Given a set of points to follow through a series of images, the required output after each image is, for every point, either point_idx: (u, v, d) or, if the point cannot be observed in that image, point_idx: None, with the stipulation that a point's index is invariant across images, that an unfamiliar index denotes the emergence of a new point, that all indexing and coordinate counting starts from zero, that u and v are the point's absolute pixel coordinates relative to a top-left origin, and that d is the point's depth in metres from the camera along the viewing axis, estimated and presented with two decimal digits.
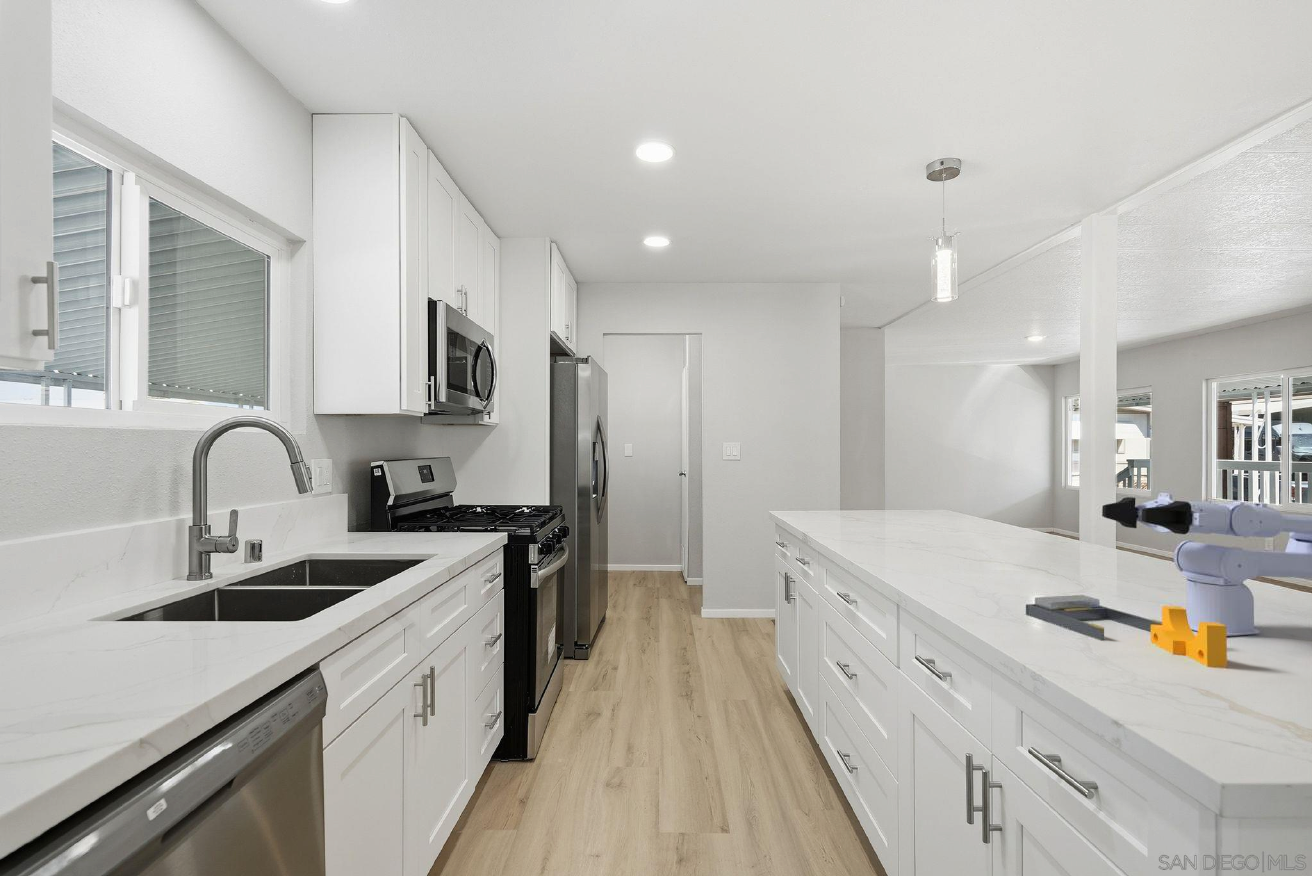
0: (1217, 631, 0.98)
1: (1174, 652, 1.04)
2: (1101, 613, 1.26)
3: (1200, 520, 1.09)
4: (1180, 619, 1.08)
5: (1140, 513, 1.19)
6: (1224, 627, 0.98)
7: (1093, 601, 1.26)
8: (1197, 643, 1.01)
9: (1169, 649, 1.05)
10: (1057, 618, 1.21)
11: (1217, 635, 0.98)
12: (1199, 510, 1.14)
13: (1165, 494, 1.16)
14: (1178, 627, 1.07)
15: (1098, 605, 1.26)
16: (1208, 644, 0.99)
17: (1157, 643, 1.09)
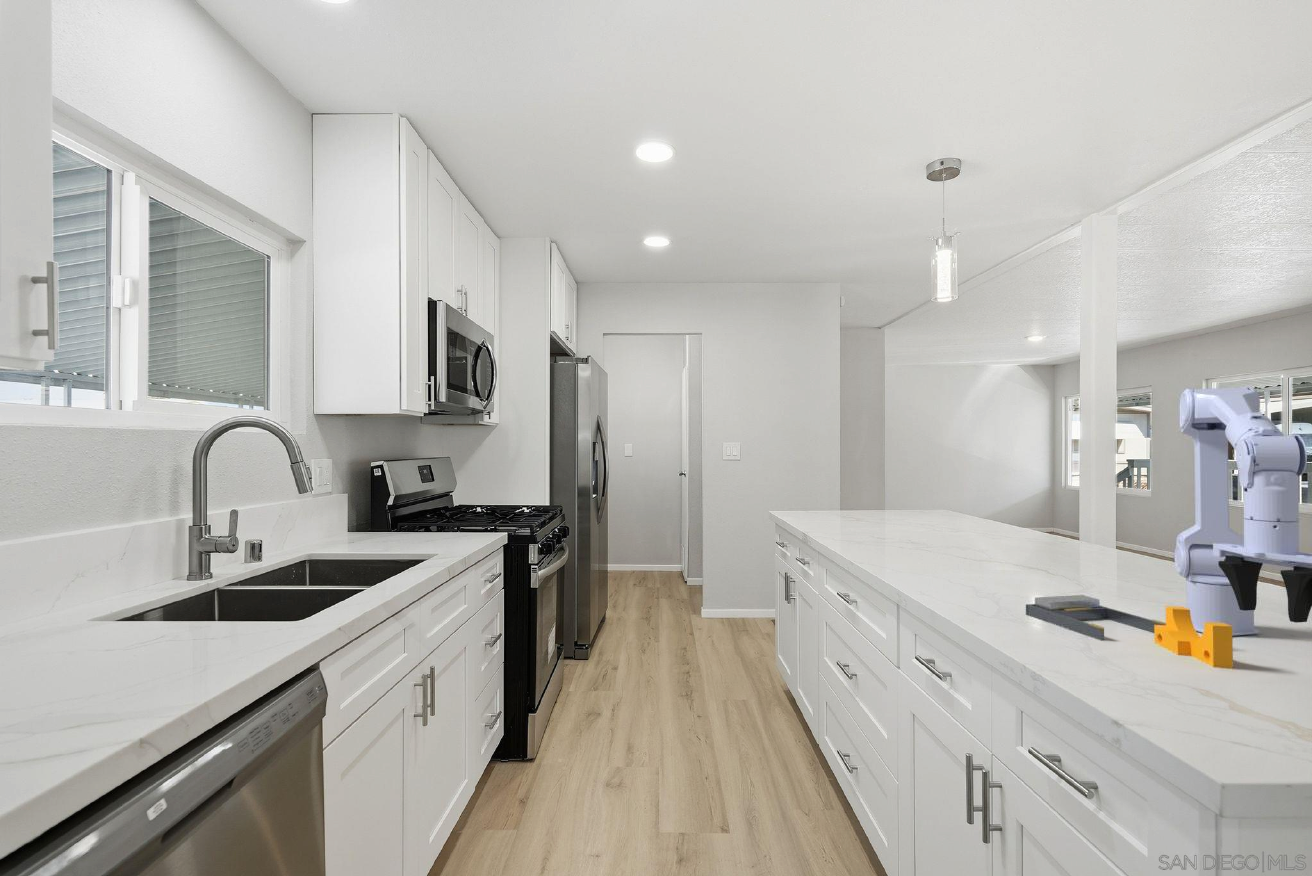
0: (1223, 631, 0.98)
1: (1179, 652, 1.04)
2: (1101, 613, 1.26)
3: None
4: (1184, 619, 1.08)
5: (1247, 560, 0.95)
6: (1230, 627, 0.98)
7: (1093, 601, 1.26)
8: (1203, 643, 1.01)
9: (1174, 650, 1.05)
10: (1057, 618, 1.21)
11: (1223, 635, 0.98)
12: (1282, 522, 0.90)
13: (1252, 556, 0.91)
14: (1182, 627, 1.07)
15: (1098, 605, 1.26)
16: (1214, 644, 0.98)
17: (1161, 643, 1.09)
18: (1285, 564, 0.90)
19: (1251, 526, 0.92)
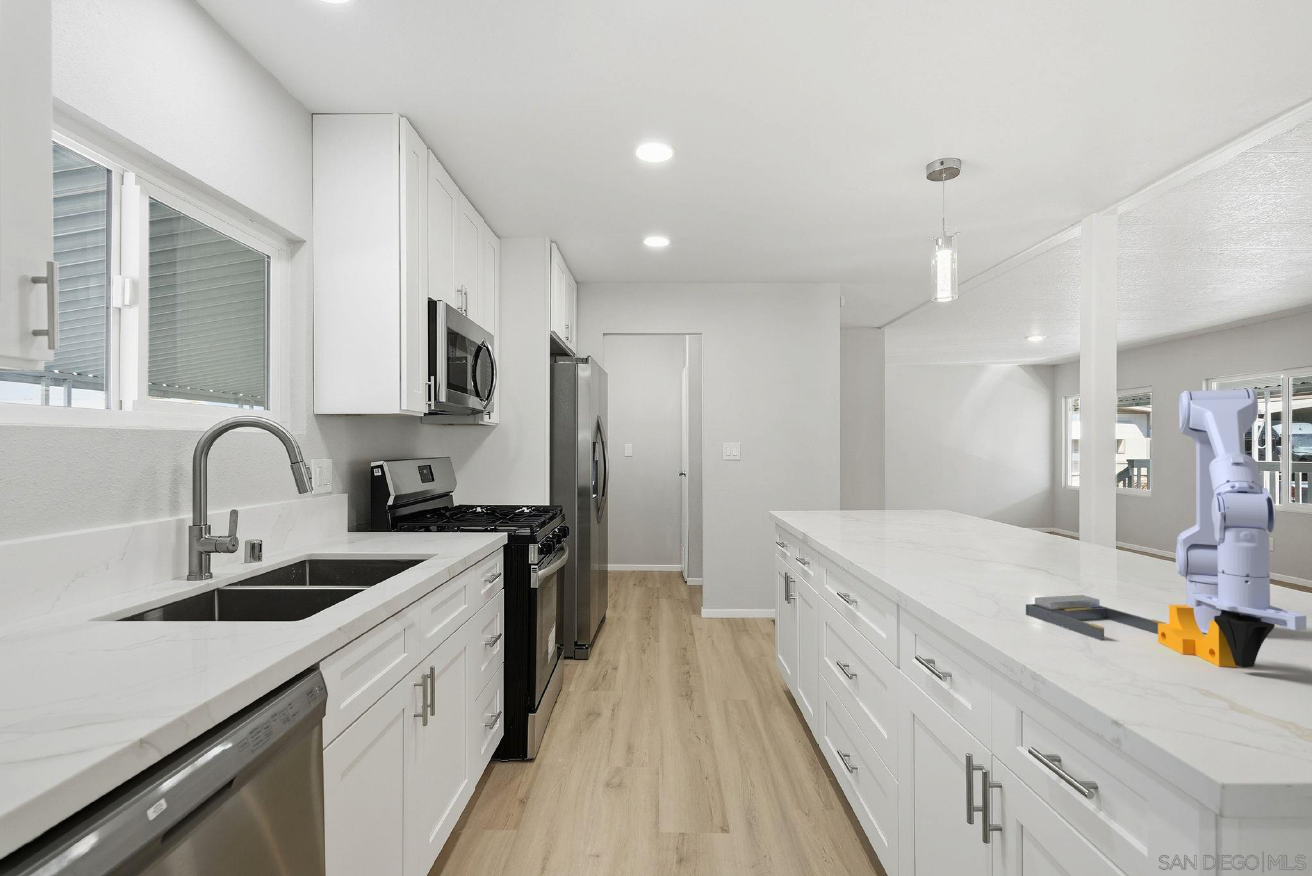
0: None
1: (1184, 651, 1.04)
2: (1101, 613, 1.26)
3: (1302, 627, 0.89)
4: (1188, 617, 1.08)
5: (1221, 610, 0.99)
6: None
7: (1093, 601, 1.26)
8: (1208, 641, 1.01)
9: (1179, 648, 1.05)
10: (1057, 618, 1.21)
11: None
12: (1253, 578, 0.93)
13: (1225, 609, 0.95)
14: (1186, 625, 1.07)
15: (1098, 605, 1.26)
16: (1220, 642, 0.99)
17: (1165, 642, 1.09)
18: (1256, 617, 0.94)
19: (1224, 580, 0.96)
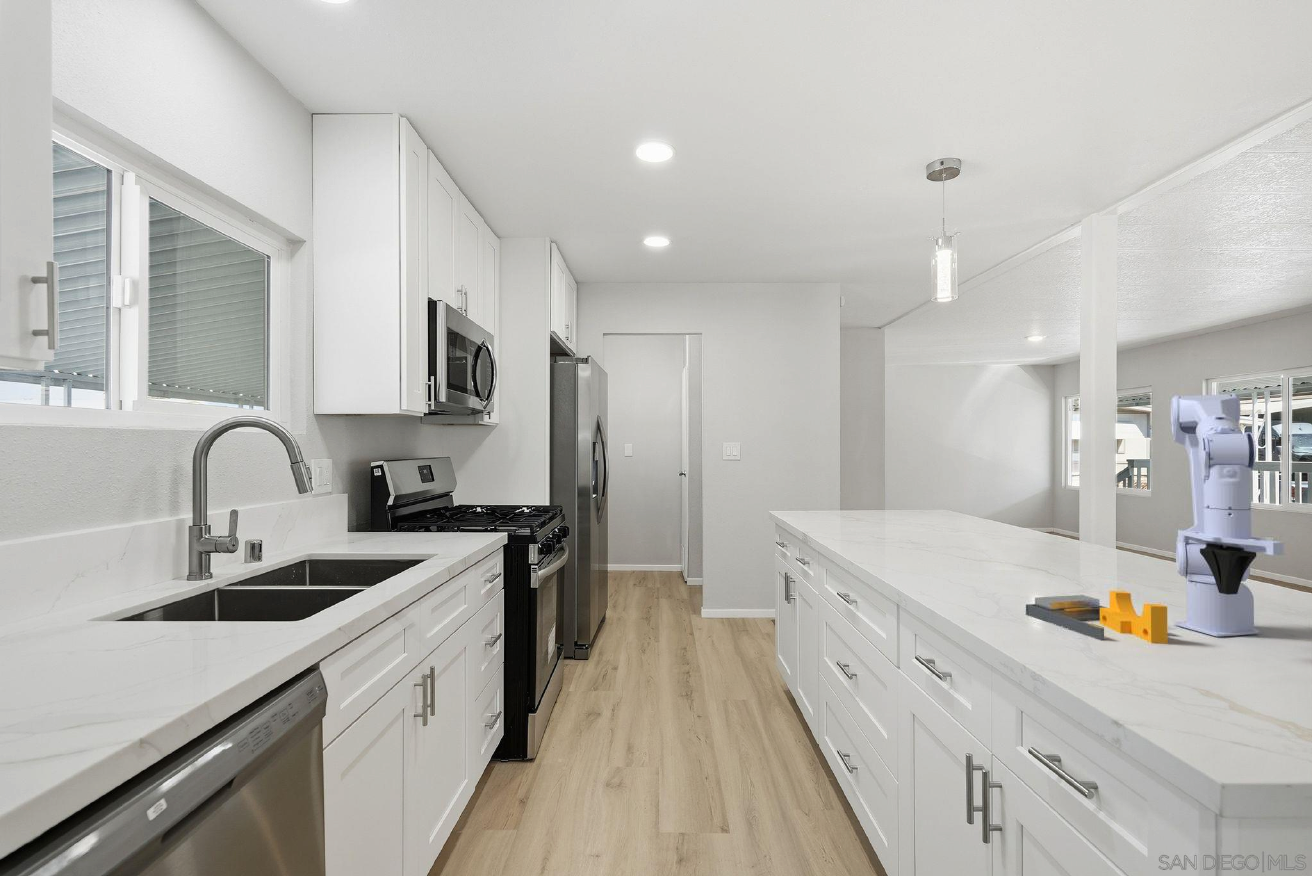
0: (1160, 611, 1.10)
1: (1121, 631, 1.16)
2: None
3: (1279, 552, 0.97)
4: (1125, 602, 1.20)
5: None
6: (1165, 607, 1.10)
7: (1093, 601, 1.26)
8: (1142, 622, 1.13)
9: (1117, 629, 1.17)
10: (1057, 618, 1.21)
11: (1159, 615, 1.10)
12: (1236, 510, 1.01)
13: (1210, 540, 1.03)
14: (1124, 609, 1.19)
15: (1098, 605, 1.26)
16: (1152, 623, 1.10)
17: (1106, 624, 1.20)
18: (1239, 547, 1.02)
19: (1209, 514, 1.04)
